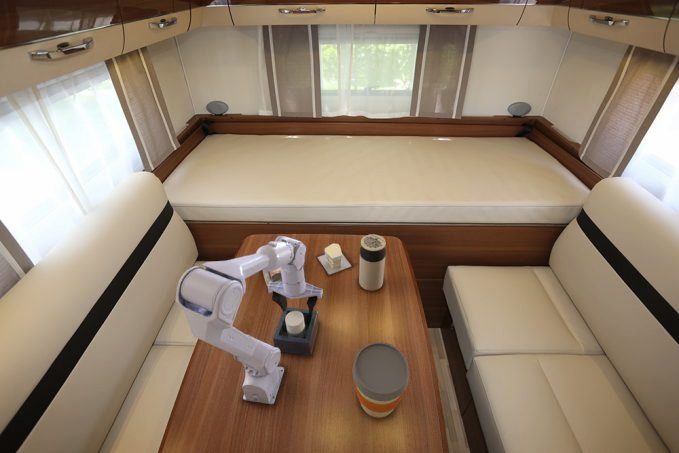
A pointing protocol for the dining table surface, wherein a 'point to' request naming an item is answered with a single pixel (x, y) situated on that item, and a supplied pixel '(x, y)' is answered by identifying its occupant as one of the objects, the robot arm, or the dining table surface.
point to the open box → (291, 342)
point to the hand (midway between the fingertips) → (298, 310)
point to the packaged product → (273, 276)
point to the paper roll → (295, 325)
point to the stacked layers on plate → (333, 259)
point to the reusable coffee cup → (380, 377)
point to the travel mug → (372, 262)
